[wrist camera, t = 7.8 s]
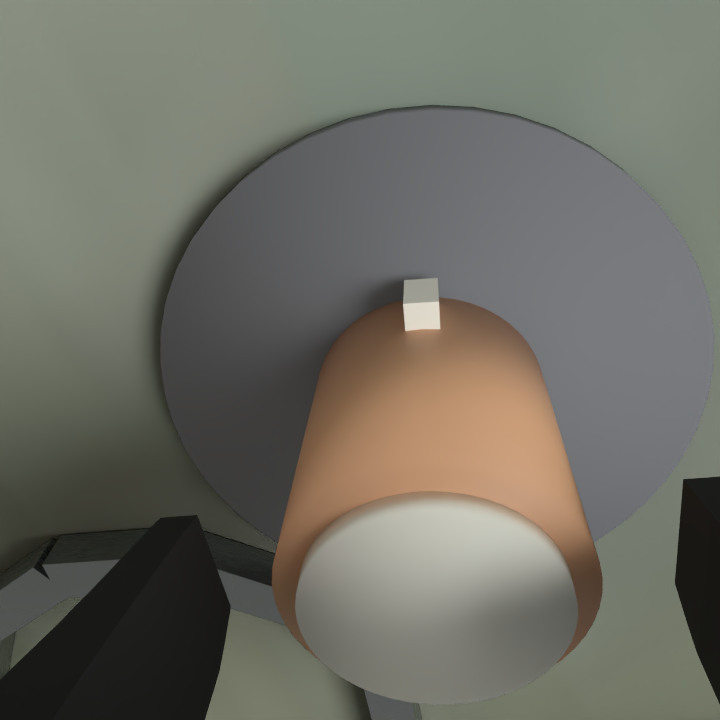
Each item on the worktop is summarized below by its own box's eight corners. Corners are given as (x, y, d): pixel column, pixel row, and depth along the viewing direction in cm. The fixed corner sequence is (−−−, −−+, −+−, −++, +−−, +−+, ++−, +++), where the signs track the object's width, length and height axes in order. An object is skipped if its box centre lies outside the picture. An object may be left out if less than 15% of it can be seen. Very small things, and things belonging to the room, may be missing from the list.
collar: (560, 646, 18) (568, 680, 17) (378, 862, 25) (377, 895, 24) (-88, 437, 16) (-117, 463, 15) (-98, 733, 23) (-118, 763, 22)
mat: (828, 242, 12) (846, 254, 12) (537, 615, 18) (541, 635, 17) (248, -1, 11) (240, 1, 10) (126, 481, 16) (116, 498, 16)
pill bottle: (540, 500, 15) (594, 742, 10) (334, 506, 16) (298, 737, 11) (548, 263, 12) (629, 447, 8) (298, 280, 13) (228, 461, 8)
